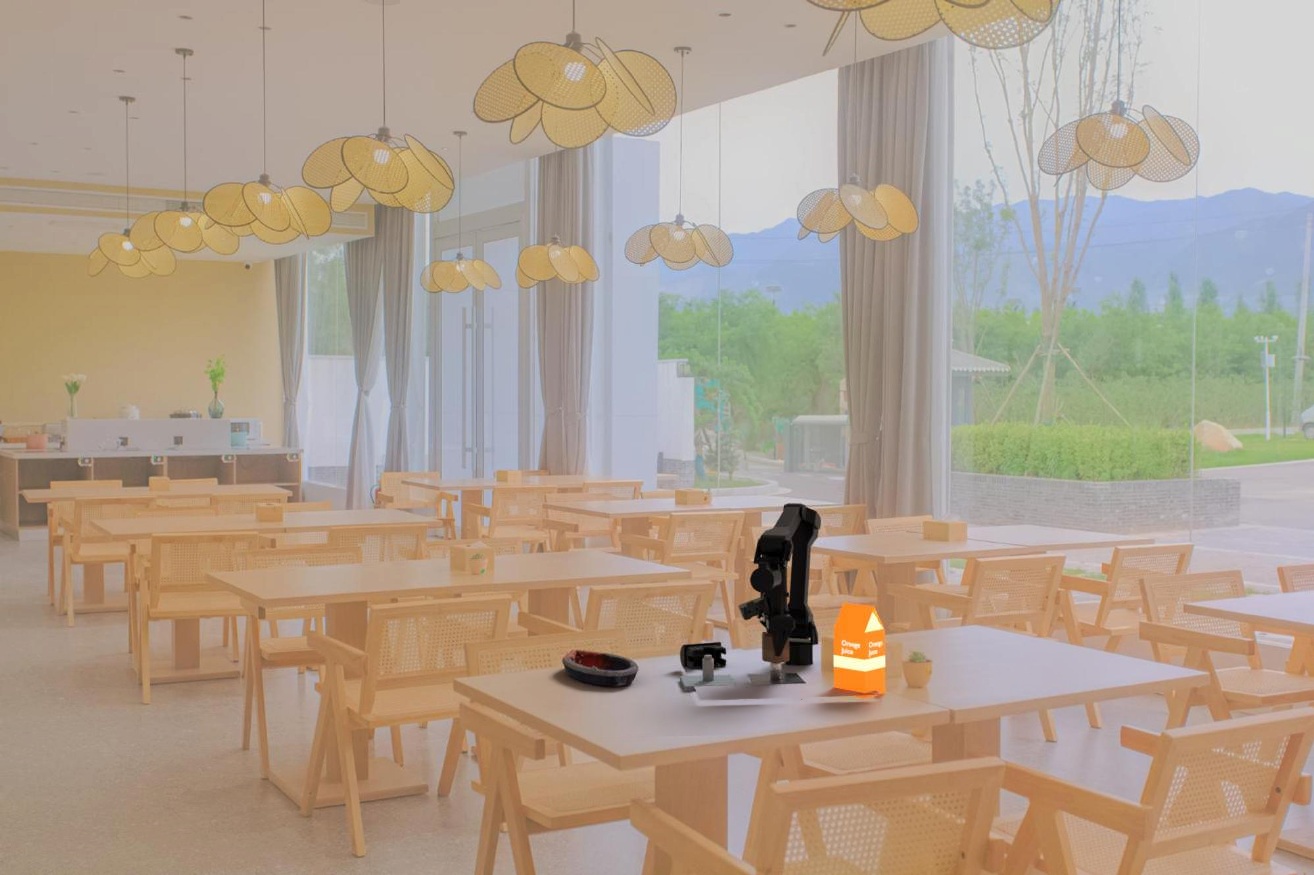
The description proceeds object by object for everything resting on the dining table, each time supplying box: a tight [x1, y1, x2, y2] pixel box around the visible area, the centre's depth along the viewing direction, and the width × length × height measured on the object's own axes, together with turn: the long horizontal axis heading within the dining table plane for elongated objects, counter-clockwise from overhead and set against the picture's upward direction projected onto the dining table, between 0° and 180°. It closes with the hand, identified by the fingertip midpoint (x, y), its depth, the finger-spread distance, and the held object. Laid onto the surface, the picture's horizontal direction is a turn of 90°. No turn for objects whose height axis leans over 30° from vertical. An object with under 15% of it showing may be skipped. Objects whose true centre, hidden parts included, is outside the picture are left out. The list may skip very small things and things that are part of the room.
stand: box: [746, 662, 807, 686], centre depth 292 cm, size 12×12×7 cm
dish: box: [561, 649, 639, 687], centre depth 302 cm, size 16×31×5 cm, turn 23°
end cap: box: [679, 641, 727, 672], centre depth 309 cm, size 10×7×7 cm
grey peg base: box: [679, 655, 738, 692], centre depth 291 cm, size 12×12×7 cm
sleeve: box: [761, 631, 789, 663], centre depth 292 cm, size 6×6×7 cm
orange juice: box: [833, 602, 886, 699], centre depth 282 cm, size 8×9×20 cm
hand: (775, 653), depth 292 cm, fingers closed on sleeve, 6 cm apart
